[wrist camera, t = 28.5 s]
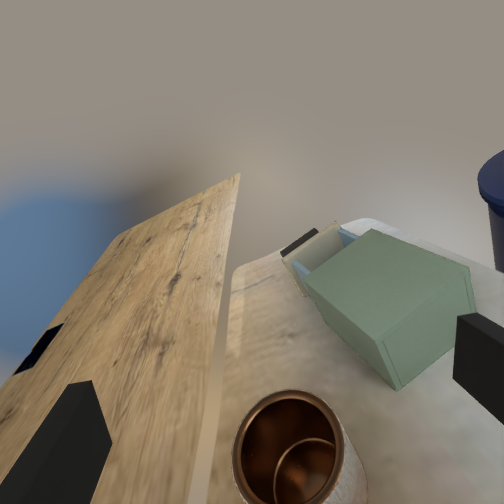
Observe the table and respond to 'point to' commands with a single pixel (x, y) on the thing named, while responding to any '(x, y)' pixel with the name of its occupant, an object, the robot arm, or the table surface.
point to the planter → (296, 453)
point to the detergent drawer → (314, 251)
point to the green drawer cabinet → (392, 303)
